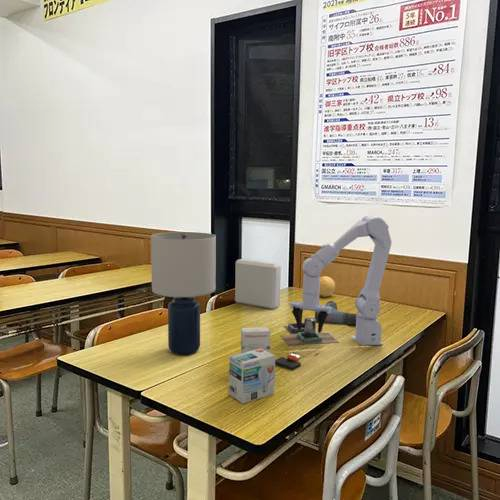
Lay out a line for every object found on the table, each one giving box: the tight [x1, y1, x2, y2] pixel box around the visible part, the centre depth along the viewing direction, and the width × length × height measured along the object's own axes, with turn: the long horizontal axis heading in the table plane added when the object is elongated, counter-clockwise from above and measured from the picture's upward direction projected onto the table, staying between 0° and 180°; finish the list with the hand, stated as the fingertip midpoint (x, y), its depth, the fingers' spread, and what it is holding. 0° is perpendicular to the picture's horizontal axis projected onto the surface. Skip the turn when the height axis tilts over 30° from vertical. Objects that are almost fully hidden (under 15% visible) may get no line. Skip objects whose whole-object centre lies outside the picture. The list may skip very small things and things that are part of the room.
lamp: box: [150, 231, 217, 356], centre depth 152 cm, size 20×20×39 cm
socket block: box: [282, 322, 304, 335], centre depth 176 cm, size 10×10×2 cm
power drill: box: [314, 300, 357, 326], centre depth 193 cm, size 5×19×20 cm
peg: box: [303, 317, 317, 338], centre depth 165 cm, size 4×4×7 cm
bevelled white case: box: [234, 258, 282, 310], centre depth 211 cm, size 21×8×20 cm, turn 58°
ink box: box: [240, 326, 271, 353], centre depth 142 cm, size 9×5×12 cm, turn 96°
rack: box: [280, 331, 340, 347], centre depth 166 cm, size 10×18×2 cm, turn 102°
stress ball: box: [319, 275, 336, 298], centre depth 229 cm, size 10×10×10 cm
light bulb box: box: [228, 348, 276, 404], centre depth 123 cm, size 11×7×11 cm, turn 126°
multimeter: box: [275, 351, 319, 371], centre depth 150 cm, size 18×12×3 cm, turn 136°
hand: (309, 330), depth 165 cm, fingers open, 7 cm apart
